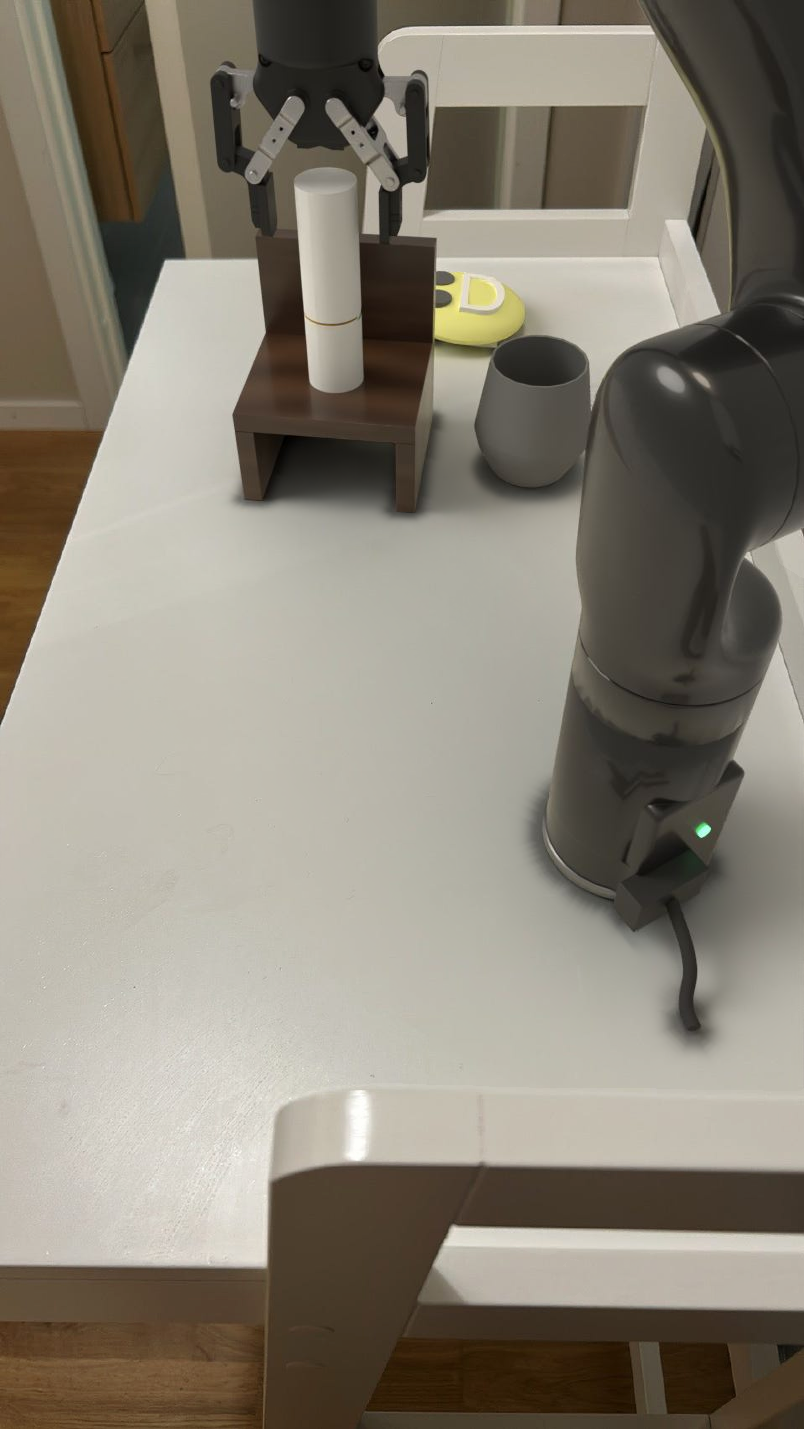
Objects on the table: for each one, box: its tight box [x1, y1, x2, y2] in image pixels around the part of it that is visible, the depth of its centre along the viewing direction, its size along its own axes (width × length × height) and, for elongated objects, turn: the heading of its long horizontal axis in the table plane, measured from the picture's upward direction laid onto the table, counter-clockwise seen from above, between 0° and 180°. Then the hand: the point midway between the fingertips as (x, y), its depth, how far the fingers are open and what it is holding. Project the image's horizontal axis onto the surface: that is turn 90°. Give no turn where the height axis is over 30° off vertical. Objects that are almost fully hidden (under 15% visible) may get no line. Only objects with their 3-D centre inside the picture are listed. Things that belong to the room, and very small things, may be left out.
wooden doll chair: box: [231, 228, 438, 513], centre depth 83 cm, size 14×14×16 cm
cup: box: [473, 334, 592, 489], centre depth 84 cm, size 10×9×10 cm
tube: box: [293, 166, 364, 393], centre depth 77 cm, size 4×4×15 cm
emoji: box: [435, 270, 526, 349], centre depth 101 cm, size 4×12×12 cm
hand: (328, 236), depth 74 cm, fingers open, 8 cm apart
